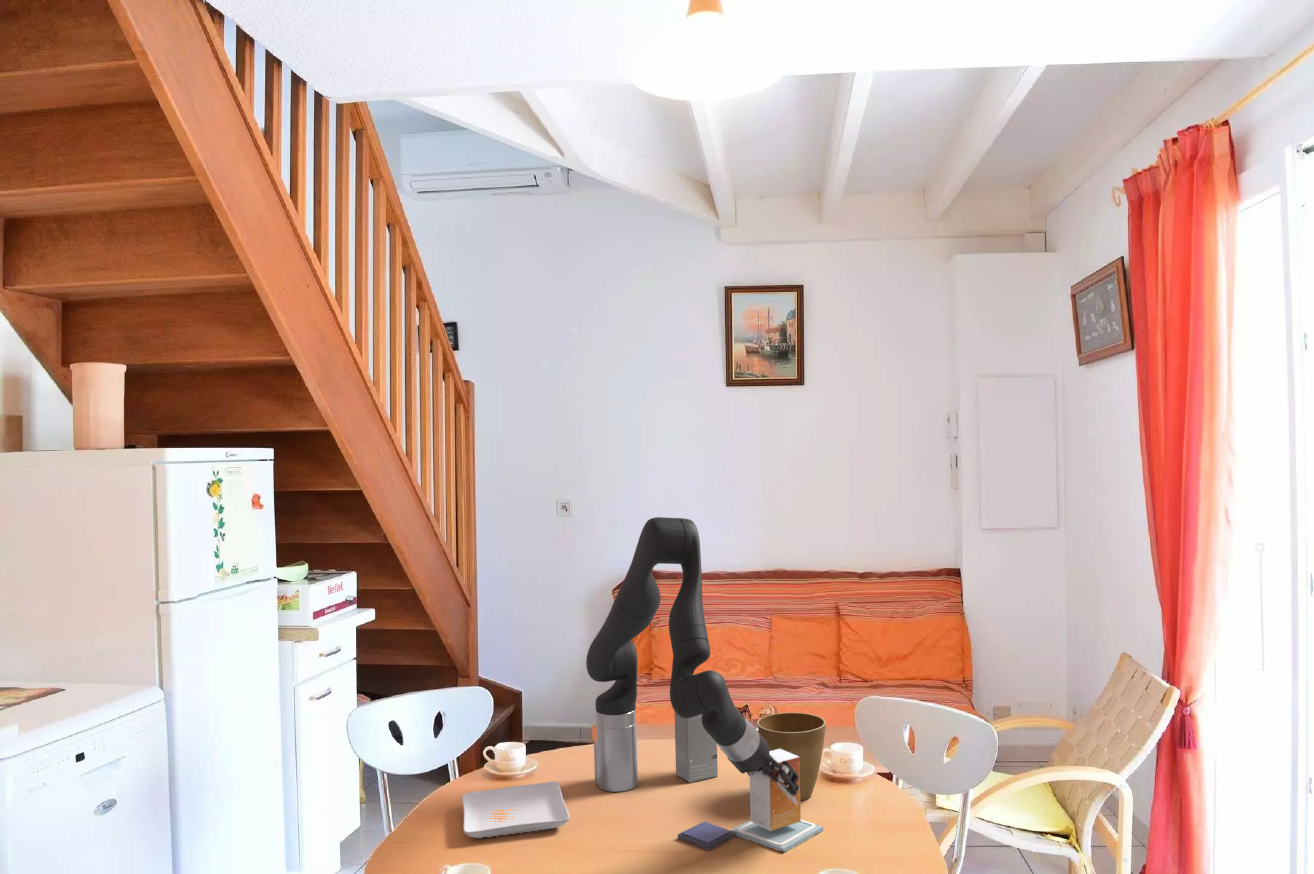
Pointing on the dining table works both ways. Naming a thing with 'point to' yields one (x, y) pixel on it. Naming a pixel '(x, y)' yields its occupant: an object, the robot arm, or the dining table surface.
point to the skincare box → (694, 750)
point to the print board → (778, 834)
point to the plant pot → (797, 742)
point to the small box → (775, 796)
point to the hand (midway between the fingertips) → (779, 786)
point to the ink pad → (706, 835)
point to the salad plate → (535, 799)
